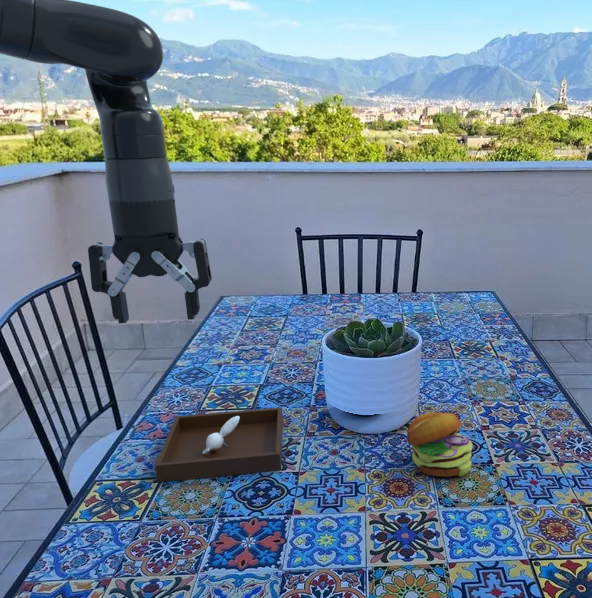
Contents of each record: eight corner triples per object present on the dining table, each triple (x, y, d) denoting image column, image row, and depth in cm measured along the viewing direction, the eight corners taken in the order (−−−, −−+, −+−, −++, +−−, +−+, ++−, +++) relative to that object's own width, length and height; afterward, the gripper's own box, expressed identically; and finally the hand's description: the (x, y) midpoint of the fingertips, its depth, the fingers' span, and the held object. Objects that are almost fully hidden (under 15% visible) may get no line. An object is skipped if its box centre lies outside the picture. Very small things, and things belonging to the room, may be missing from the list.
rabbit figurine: (193, 450, 98) (224, 415, 103) (210, 465, 99) (240, 429, 103) (200, 446, 93) (233, 410, 98) (218, 462, 94) (250, 425, 98)
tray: (157, 482, 90) (154, 465, 89) (177, 430, 106) (175, 416, 105) (281, 470, 93) (279, 453, 92) (283, 421, 109) (282, 407, 108)
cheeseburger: (450, 491, 87) (438, 430, 86) (400, 479, 94) (388, 423, 93) (487, 462, 94) (476, 406, 93) (438, 453, 101) (427, 401, 100)
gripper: (68, 200, 65) (91, 332, 70) (196, 197, 67) (210, 325, 72) (90, 194, 72) (110, 314, 77) (205, 191, 74) (217, 308, 79)
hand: (158, 319), depth 74 cm, fingers open, 8 cm apart
